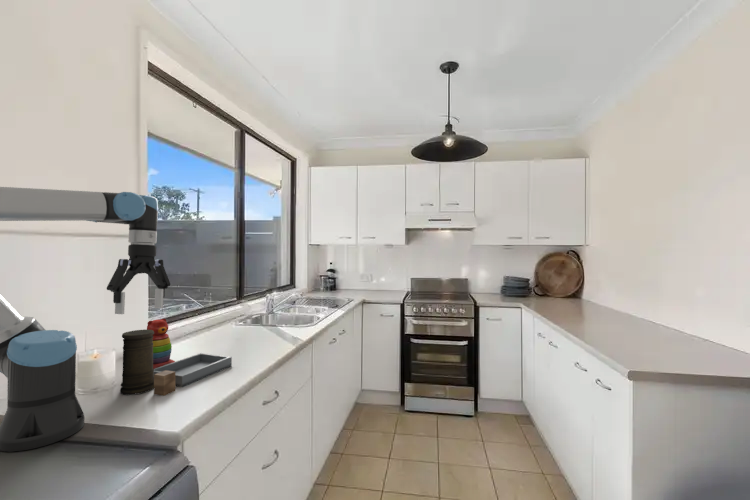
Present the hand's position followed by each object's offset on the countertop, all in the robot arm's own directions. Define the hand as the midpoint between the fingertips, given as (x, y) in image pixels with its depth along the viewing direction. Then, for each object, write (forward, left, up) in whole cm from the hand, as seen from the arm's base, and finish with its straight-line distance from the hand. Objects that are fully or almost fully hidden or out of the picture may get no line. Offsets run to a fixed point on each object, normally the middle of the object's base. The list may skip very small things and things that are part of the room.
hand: (140, 311), depth 111 cm
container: (-1, -1, -25) cm, 25 cm away
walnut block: (0, -11, -24) cm, 27 cm away
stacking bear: (+17, +13, -25) cm, 33 cm away
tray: (+16, -5, -24) cm, 29 cm away
